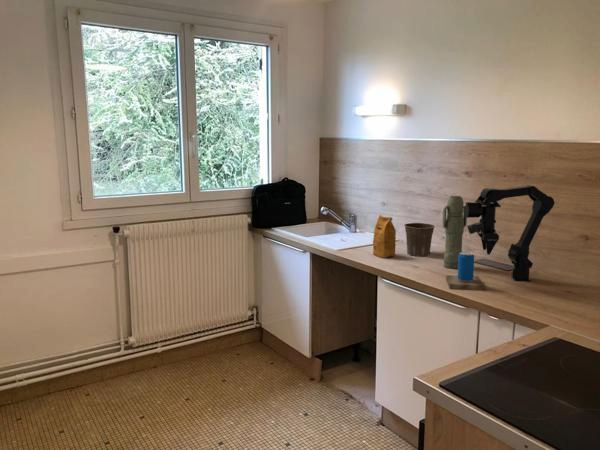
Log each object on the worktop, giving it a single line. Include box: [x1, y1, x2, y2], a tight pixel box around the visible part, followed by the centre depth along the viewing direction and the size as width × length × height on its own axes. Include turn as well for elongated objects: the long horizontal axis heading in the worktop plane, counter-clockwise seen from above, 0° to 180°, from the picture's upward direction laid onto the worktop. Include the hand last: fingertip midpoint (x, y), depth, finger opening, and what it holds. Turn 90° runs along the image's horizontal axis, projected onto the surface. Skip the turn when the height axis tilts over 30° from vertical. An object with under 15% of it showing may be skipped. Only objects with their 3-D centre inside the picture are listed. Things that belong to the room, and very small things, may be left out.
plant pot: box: [404, 222, 436, 257], centre depth 274 cm, size 16×16×16 cm
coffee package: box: [372, 214, 397, 259], centre depth 271 cm, size 10×12×22 cm
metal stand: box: [445, 274, 485, 291], centre depth 217 cm, size 14×14×2 cm
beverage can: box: [457, 251, 475, 282], centre depth 216 cm, size 6×6×12 cm
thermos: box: [442, 195, 468, 270], centre depth 245 cm, size 9×12×35 cm
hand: (486, 252), depth 221 cm, fingers open, 9 cm apart
